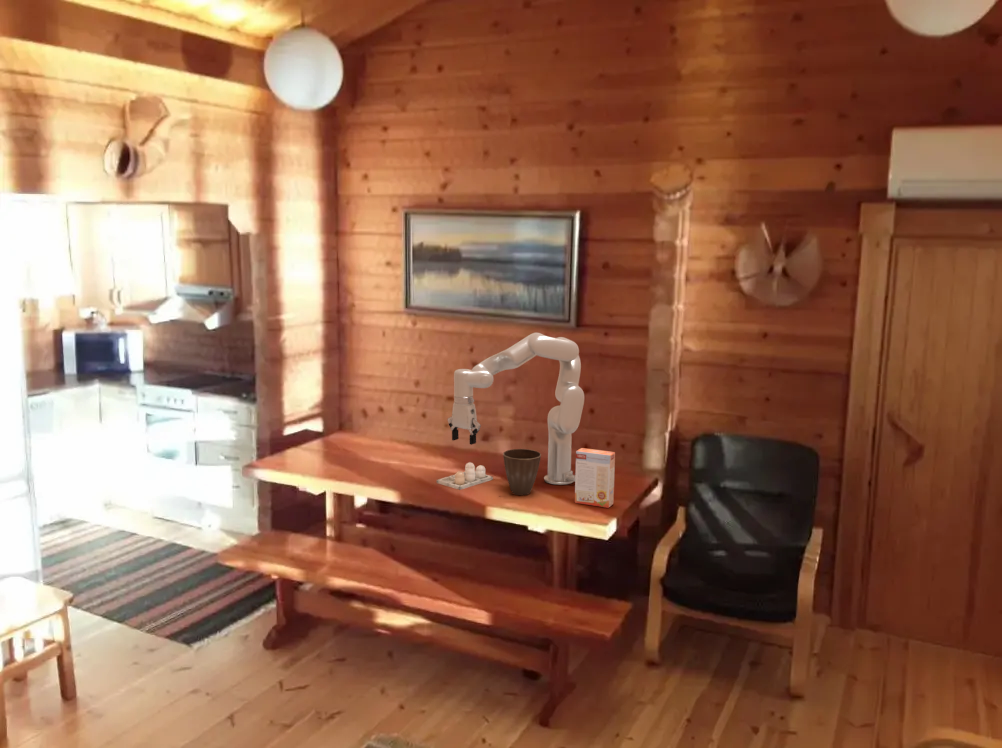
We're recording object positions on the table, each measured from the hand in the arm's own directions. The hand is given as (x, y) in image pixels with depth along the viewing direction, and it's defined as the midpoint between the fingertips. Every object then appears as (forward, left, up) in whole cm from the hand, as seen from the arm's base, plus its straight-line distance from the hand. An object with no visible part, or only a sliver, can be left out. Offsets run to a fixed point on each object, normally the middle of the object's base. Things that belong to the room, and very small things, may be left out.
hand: (464, 441), depth 350 cm
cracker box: (-51, -20, -19) cm, 58 cm away
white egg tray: (+3, -4, -19) cm, 19 cm away
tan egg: (0, +3, -18) cm, 18 cm away
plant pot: (-22, -11, -19) cm, 31 cm away
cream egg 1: (+6, -10, -18) cm, 21 cm away
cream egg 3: (0, -10, -18) cm, 20 cm away
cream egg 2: (0, -4, -18) cm, 18 cm away
